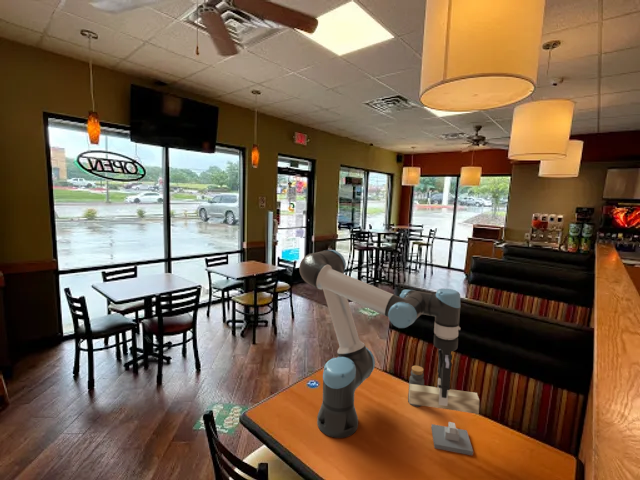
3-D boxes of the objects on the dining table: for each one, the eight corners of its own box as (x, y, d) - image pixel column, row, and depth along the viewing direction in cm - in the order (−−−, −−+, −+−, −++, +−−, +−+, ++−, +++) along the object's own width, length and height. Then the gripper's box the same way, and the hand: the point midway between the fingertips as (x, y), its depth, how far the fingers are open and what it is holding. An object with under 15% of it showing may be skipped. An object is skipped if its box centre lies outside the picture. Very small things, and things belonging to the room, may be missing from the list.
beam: (475, 406, 108) (476, 392, 108) (478, 414, 104) (479, 399, 104) (409, 396, 114) (409, 383, 113) (409, 403, 110) (409, 390, 109)
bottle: (423, 407, 128) (425, 373, 126) (408, 405, 130) (410, 371, 128) (421, 399, 134) (424, 365, 132) (407, 397, 135) (409, 363, 133)
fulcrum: (434, 448, 107) (435, 431, 107) (431, 427, 117) (432, 412, 116) (472, 455, 105) (474, 439, 104) (466, 434, 114) (467, 418, 114)
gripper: (462, 348, 97) (458, 418, 100) (454, 327, 113) (450, 388, 116) (436, 345, 99) (432, 414, 102) (431, 324, 115) (428, 385, 118)
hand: (442, 400), depth 109 cm, fingers closed on beam, 4 cm apart
